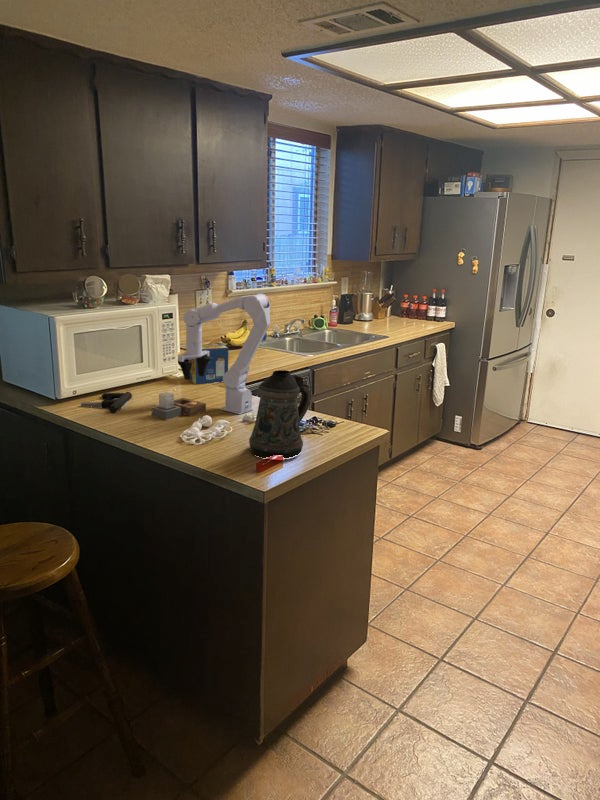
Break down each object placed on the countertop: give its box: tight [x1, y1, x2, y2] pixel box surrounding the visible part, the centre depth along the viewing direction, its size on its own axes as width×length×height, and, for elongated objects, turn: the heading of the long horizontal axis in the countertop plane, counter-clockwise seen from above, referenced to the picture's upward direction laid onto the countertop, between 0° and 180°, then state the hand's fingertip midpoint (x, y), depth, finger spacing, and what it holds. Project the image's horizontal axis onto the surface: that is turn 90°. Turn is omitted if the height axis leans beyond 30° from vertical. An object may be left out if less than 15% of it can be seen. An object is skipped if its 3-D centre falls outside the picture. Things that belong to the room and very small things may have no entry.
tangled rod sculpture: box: [179, 415, 233, 446], centre depth 195 cm, size 19×14×4 cm
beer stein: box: [248, 369, 312, 458], centre depth 183 cm, size 16×19×25 cm
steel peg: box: [158, 391, 175, 410], centre depth 213 cm, size 4×4×8 cm
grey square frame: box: [151, 405, 182, 421], centre depth 214 cm, size 7×7×3 cm
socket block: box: [174, 397, 207, 417], centre depth 220 cm, size 11×8×3 cm
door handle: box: [80, 391, 134, 414], centre depth 223 cm, size 3×20×16 cm
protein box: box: [188, 342, 229, 385], centre depth 262 cm, size 10×15×16 cm
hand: (194, 377), depth 226 cm, fingers open, 7 cm apart
